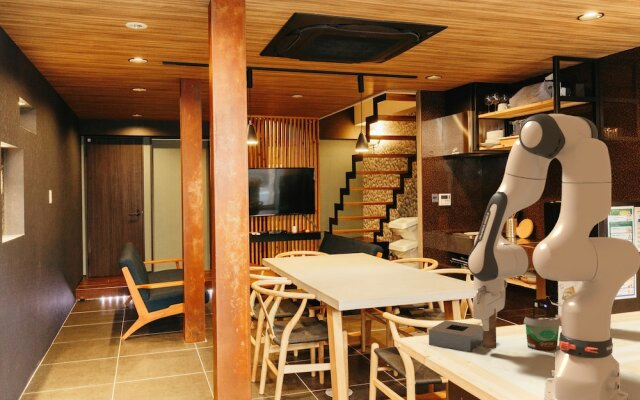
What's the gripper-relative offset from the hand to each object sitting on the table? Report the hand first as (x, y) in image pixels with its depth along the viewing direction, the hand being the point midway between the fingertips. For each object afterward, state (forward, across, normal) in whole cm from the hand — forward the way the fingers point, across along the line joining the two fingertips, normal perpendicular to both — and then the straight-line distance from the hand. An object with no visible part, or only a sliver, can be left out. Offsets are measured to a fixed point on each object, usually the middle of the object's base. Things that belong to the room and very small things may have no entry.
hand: (489, 328), depth 163 cm
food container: (+8, +14, -13) cm, 21 cm away
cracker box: (+8, +44, -18) cm, 48 cm away
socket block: (+8, +6, +13) cm, 16 cm away
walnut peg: (+6, 0, 0) cm, 6 cm away
